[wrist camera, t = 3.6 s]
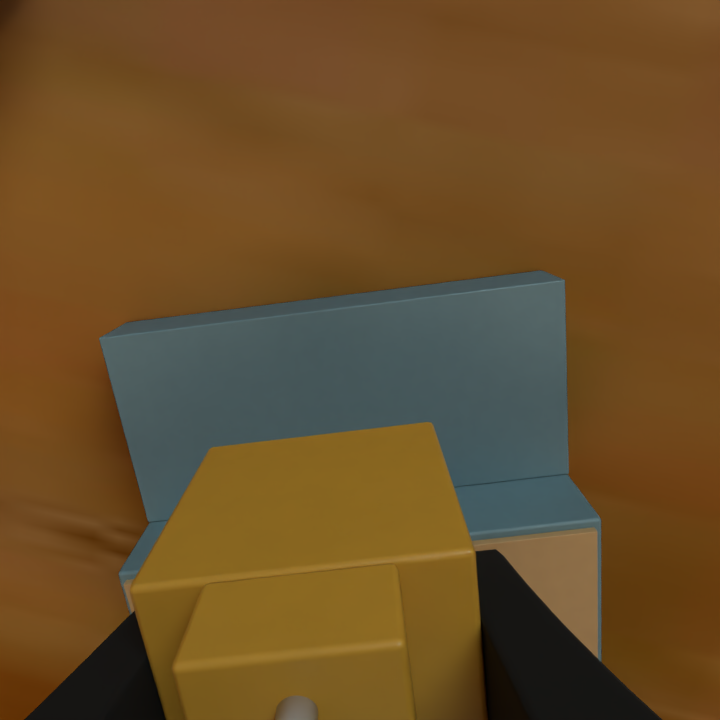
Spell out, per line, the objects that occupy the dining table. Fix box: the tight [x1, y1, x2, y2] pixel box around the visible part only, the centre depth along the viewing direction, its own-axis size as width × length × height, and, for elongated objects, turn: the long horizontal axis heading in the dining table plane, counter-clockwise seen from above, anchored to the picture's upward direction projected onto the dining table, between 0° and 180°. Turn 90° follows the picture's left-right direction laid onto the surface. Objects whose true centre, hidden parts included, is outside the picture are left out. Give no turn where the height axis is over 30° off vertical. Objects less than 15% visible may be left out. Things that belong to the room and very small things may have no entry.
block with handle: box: [130, 422, 488, 720], centre depth 7 cm, size 5×4×6 cm
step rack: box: [99, 271, 601, 661], centre depth 16 cm, size 18×12×6 cm, turn 7°
